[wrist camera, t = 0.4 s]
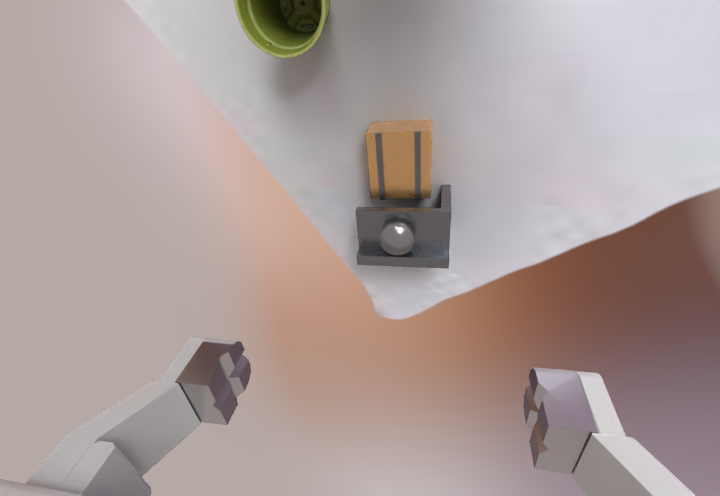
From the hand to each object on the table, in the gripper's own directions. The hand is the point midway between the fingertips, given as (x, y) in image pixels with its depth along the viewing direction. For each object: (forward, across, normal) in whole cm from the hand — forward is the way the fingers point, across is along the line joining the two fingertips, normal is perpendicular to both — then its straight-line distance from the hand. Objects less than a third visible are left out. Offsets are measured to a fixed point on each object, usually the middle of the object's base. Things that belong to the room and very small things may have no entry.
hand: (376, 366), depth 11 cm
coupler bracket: (+44, +4, +19) cm, 48 cm away
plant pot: (+44, +14, -9) cm, 47 cm away
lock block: (+44, +4, +10) cm, 45 cm away
